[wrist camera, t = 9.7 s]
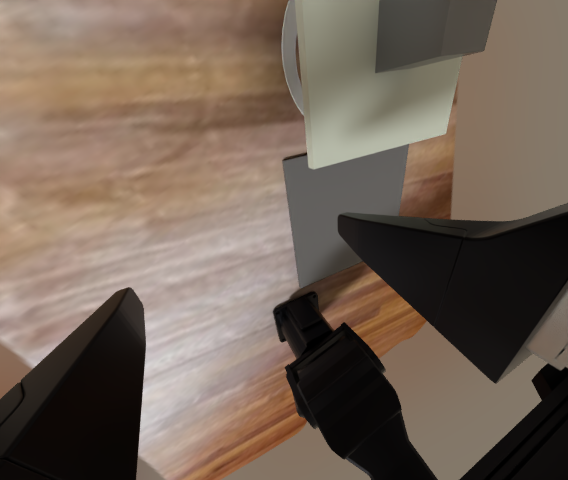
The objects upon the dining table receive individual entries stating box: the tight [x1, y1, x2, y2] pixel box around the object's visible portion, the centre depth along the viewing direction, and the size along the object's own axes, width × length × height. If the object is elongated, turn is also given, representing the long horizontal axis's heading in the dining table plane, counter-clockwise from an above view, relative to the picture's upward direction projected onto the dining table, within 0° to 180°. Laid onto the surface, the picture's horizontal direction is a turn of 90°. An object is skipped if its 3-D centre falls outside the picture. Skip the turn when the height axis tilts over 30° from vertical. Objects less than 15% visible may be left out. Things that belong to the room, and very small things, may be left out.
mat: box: [282, 144, 409, 288], centre depth 27 cm, size 16×16×1 cm
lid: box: [295, 0, 497, 169], centre depth 13 cm, size 14×14×5 cm
